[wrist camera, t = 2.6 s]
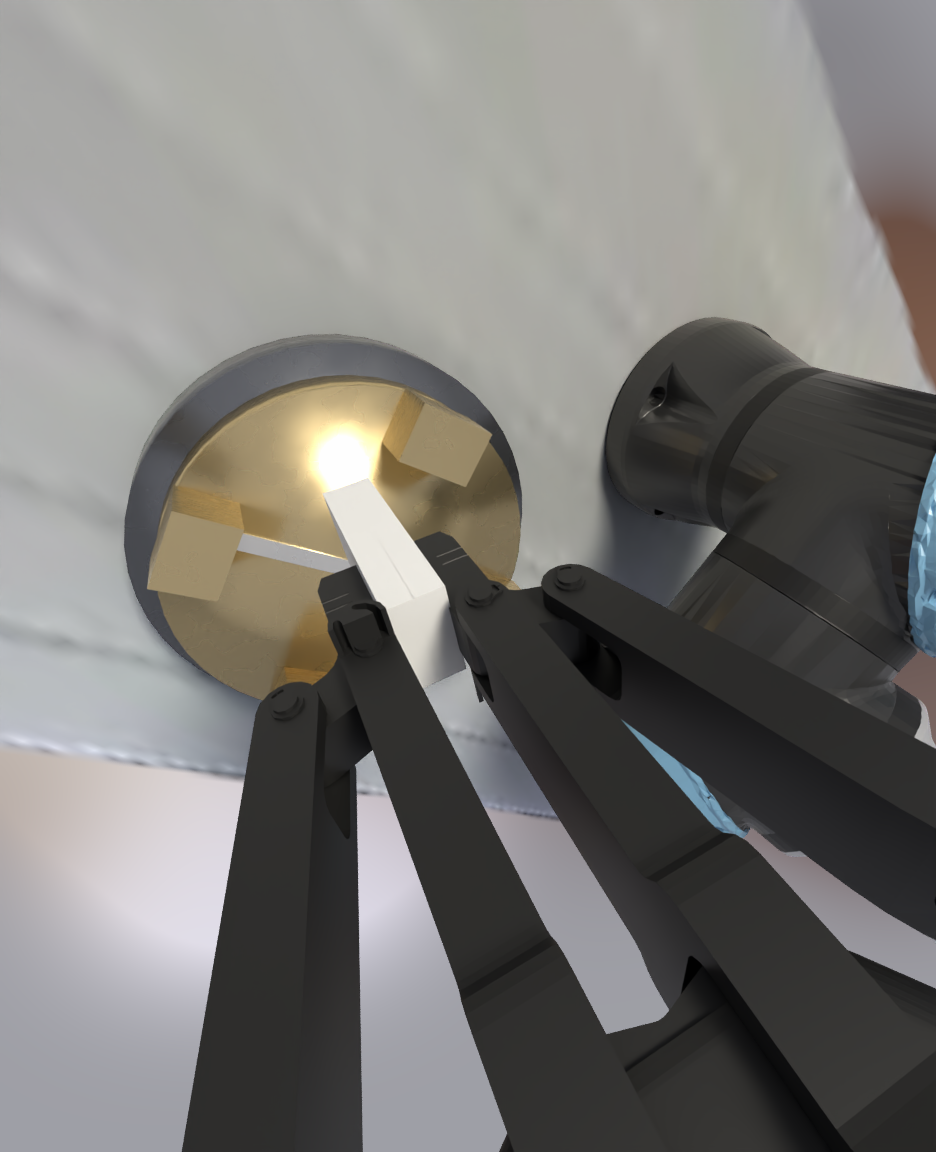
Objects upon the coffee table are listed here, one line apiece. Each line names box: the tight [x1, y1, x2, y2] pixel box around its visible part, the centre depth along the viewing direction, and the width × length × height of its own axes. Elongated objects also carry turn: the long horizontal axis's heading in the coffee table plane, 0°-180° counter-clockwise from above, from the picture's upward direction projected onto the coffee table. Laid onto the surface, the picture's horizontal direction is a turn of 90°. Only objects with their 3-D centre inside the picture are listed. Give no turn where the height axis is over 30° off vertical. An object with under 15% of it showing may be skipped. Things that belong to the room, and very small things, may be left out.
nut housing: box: [124, 334, 522, 676], centre depth 35 cm, size 24×24×3 cm
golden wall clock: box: [147, 375, 521, 700], centre depth 32 cm, size 21×21×6 cm
